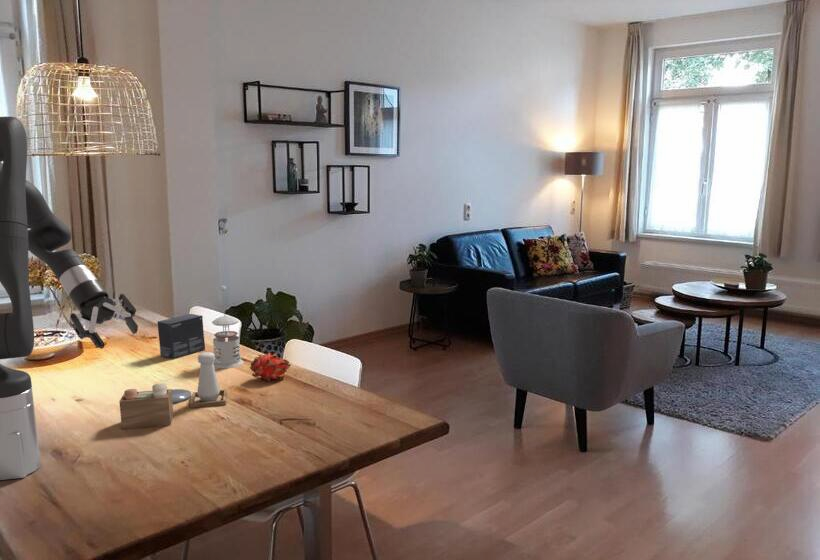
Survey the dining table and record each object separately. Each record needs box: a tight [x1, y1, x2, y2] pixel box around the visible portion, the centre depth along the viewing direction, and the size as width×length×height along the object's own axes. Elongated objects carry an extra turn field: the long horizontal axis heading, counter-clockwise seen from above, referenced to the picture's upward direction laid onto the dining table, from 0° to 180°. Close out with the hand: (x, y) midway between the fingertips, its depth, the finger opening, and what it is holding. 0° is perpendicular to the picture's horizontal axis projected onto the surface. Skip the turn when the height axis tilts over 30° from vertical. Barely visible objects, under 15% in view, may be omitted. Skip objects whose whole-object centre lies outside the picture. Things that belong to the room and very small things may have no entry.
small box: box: [156, 313, 206, 360], centre depth 217 cm, size 13×7×12 cm, turn 146°
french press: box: [211, 285, 244, 369], centre depth 205 cm, size 10×12×25 cm
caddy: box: [119, 382, 174, 430], centre depth 160 cm, size 6×11×9 cm, turn 103°
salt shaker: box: [196, 351, 221, 402], centre depth 174 cm, size 6×6×13 cm
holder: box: [189, 389, 228, 409], centre depth 175 cm, size 9×9×1 cm
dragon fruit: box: [248, 352, 292, 382], centre depth 191 cm, size 8×8×12 cm
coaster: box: [172, 388, 192, 405], centre depth 177 cm, size 10×10×1 cm
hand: (119, 339), depth 158 cm, fingers open, 8 cm apart
